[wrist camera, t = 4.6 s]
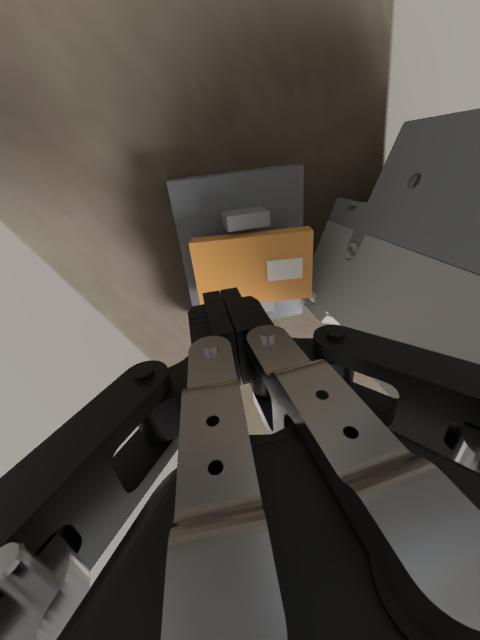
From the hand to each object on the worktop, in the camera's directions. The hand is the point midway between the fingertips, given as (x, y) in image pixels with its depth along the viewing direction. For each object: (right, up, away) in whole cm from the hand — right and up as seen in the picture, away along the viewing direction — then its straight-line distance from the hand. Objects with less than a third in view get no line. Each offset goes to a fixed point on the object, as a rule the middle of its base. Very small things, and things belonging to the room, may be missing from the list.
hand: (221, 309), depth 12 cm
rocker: (+2, +3, +5) cm, 6 cm away
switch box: (+1, +5, +9) cm, 10 cm away
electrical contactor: (+11, +7, +10) cm, 17 cm away
